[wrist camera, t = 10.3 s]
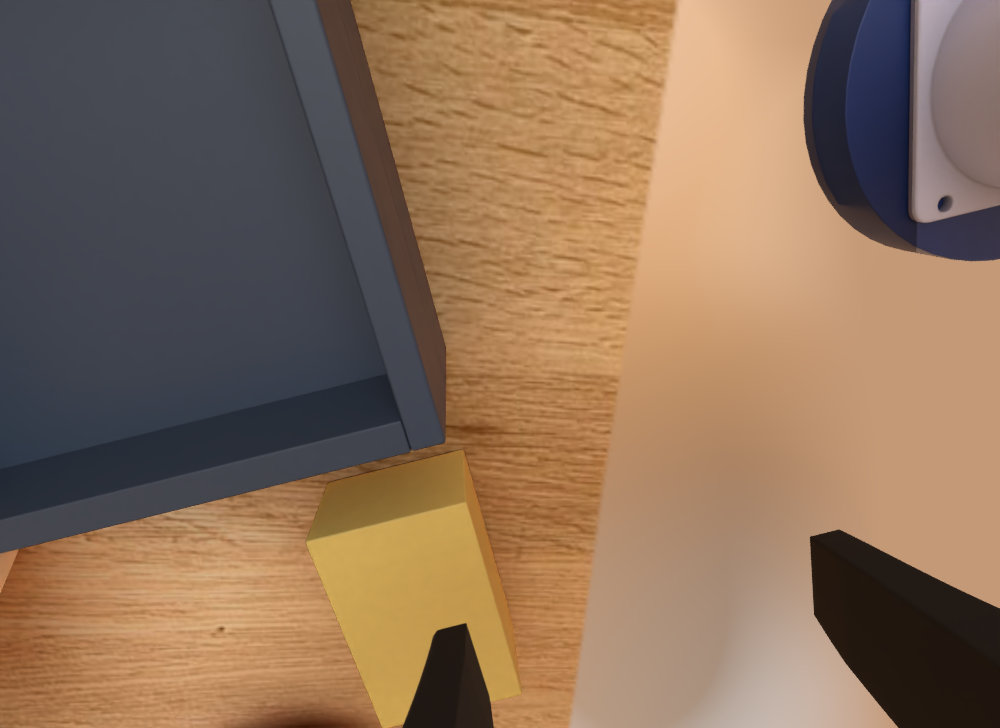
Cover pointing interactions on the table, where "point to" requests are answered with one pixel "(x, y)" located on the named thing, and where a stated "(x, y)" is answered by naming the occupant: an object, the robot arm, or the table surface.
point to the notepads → (412, 576)
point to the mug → (6, 565)
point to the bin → (198, 261)
